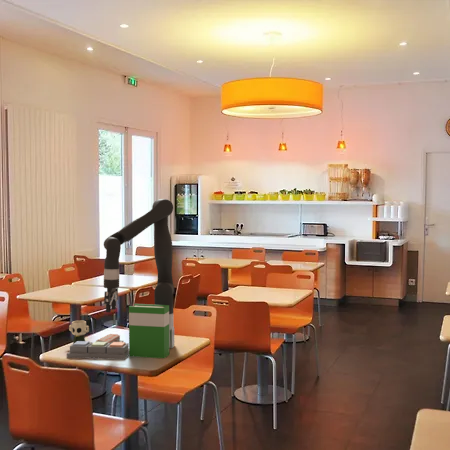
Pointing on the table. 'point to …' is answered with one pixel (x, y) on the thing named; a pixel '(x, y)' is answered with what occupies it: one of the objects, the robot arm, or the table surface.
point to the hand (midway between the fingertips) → (111, 310)
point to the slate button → (81, 343)
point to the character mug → (78, 330)
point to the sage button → (99, 344)
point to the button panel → (98, 351)
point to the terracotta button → (117, 344)
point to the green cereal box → (149, 330)
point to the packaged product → (110, 338)
